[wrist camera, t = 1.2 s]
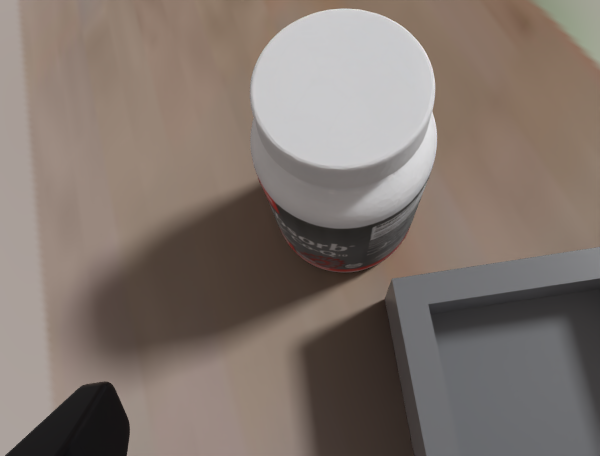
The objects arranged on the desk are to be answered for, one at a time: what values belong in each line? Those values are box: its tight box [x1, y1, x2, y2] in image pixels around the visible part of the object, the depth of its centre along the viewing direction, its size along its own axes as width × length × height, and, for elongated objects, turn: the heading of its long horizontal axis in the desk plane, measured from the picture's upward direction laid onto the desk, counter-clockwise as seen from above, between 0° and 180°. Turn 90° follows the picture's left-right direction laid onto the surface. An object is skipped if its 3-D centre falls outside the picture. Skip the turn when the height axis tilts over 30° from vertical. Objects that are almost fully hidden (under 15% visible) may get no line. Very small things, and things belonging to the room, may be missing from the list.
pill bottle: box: [250, 9, 437, 272], centre depth 18 cm, size 6×6×10 cm
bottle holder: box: [385, 247, 600, 456], centre depth 17 cm, size 10×10×4 cm
